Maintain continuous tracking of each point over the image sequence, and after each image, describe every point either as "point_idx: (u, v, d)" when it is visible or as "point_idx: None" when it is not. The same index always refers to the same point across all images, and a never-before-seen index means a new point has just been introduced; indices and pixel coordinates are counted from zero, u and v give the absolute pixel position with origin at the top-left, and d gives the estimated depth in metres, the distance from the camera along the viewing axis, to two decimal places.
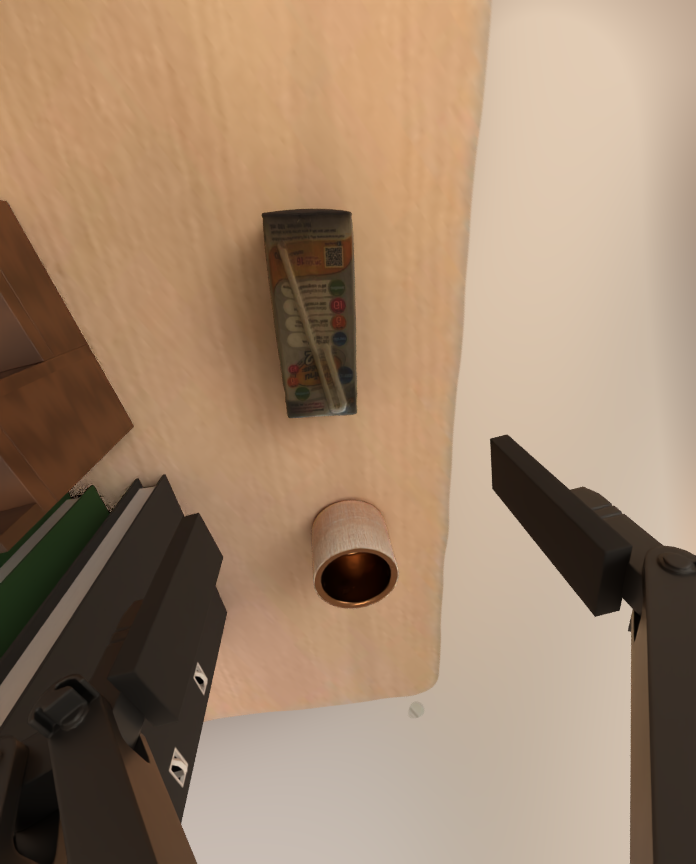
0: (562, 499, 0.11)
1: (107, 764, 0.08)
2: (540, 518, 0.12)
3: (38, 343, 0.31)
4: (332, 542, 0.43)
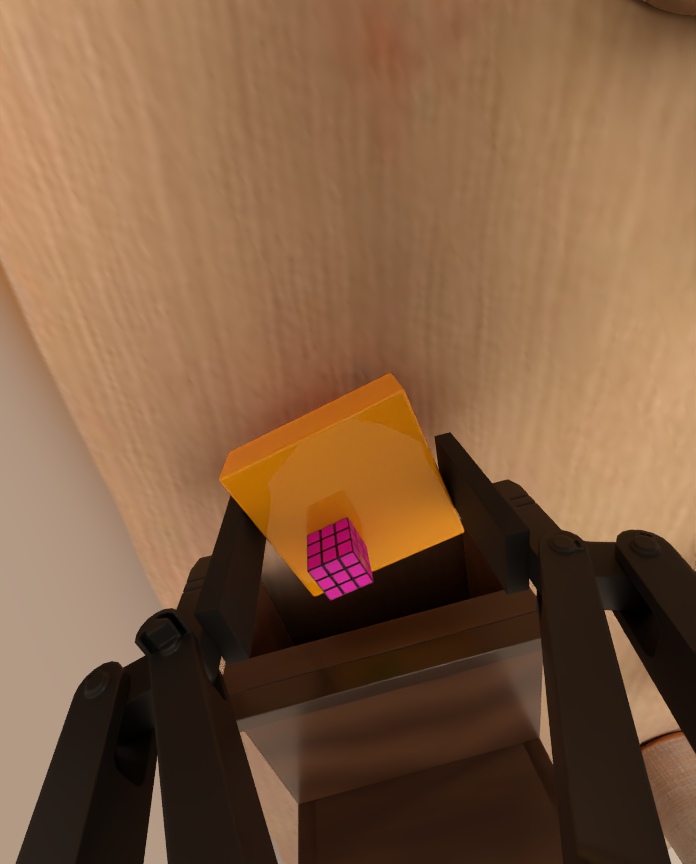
0: (482, 490, 0.12)
1: (194, 695, 0.09)
2: (469, 508, 0.14)
3: None
4: None
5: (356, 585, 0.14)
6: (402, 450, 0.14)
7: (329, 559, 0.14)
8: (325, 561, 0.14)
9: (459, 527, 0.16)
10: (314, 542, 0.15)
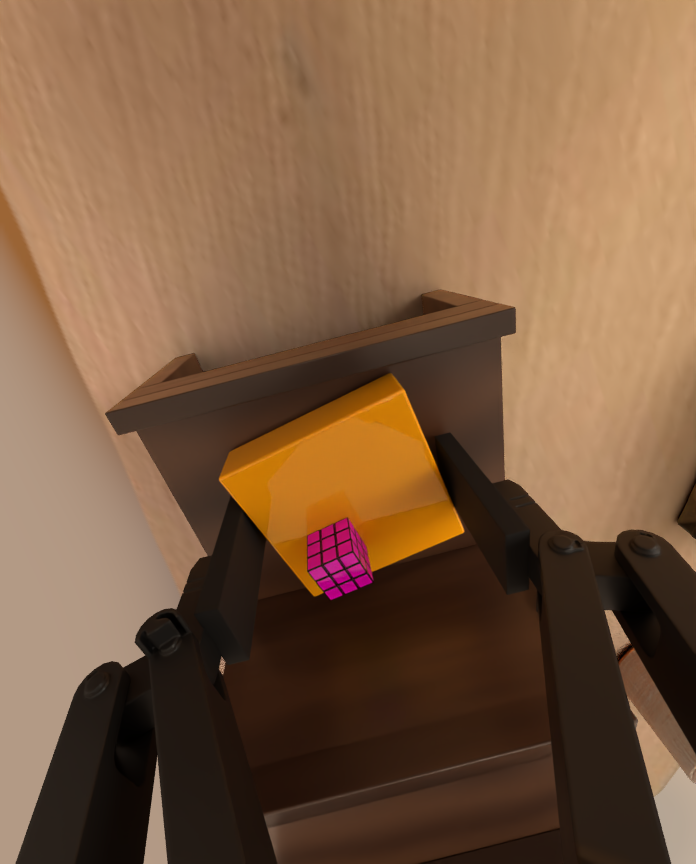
0: (482, 490, 0.12)
1: (194, 695, 0.09)
2: (469, 508, 0.14)
3: None
4: None
5: (356, 585, 0.14)
6: (402, 450, 0.14)
7: (329, 559, 0.14)
8: (325, 561, 0.14)
9: (459, 527, 0.16)
10: (314, 542, 0.15)
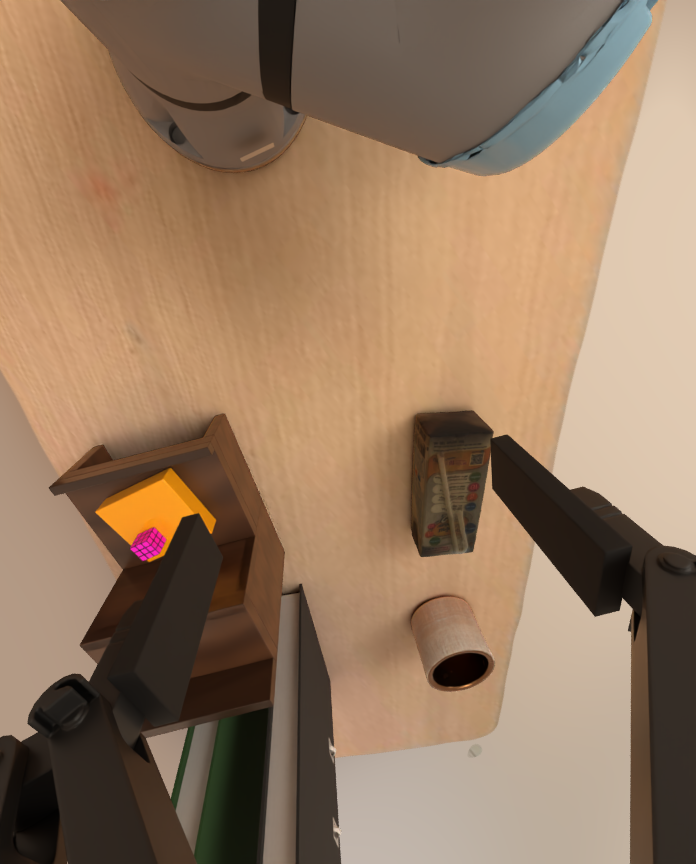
0: (562, 499, 0.11)
1: (107, 764, 0.08)
2: (540, 518, 0.12)
3: (251, 523, 0.41)
4: (442, 642, 0.53)
5: (152, 554, 0.35)
6: (170, 500, 0.35)
7: (138, 544, 0.35)
8: (136, 544, 0.35)
9: None
10: (138, 537, 0.36)
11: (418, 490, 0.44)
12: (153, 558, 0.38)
